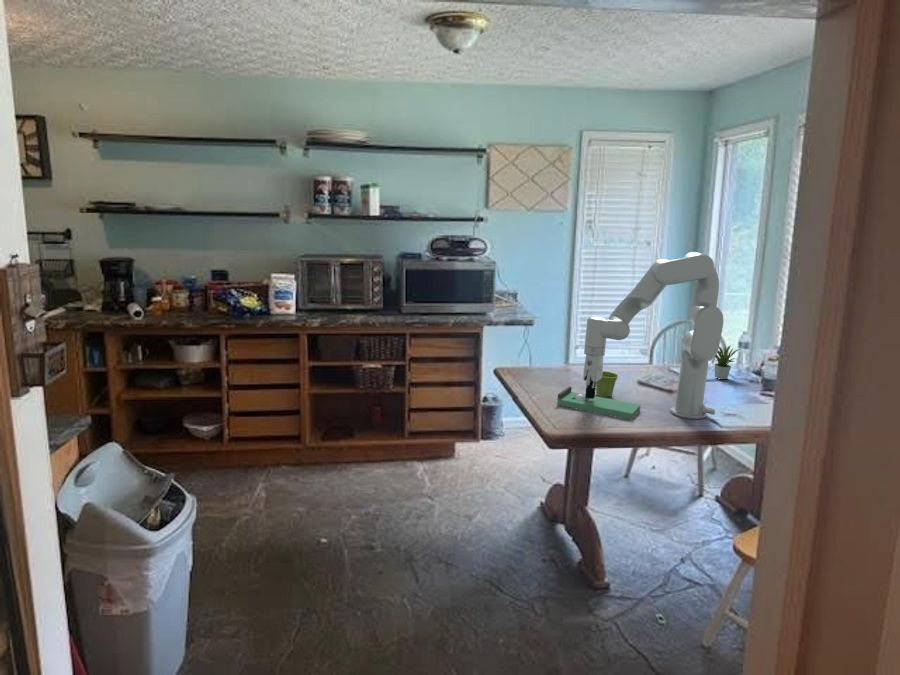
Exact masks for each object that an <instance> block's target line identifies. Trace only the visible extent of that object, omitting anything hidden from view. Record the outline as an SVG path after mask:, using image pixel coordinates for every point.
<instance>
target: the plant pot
mask: <svg viewBox="0 0 900 675" xmlns="http://www.w3.org/2000/svg"><path fill="white" fill-rule="evenodd" d="M618 378H619V374H617V373H615V372H610V371H604V370H603V374H602V378H601V379H600V380H598V381H597V382H596V387H595V388H596V390H595V395H598V397H602V398H608V397H610V398H611V397H612V396H613V392H614V389H615V386H616V382H617V380H618Z"/></svg>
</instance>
